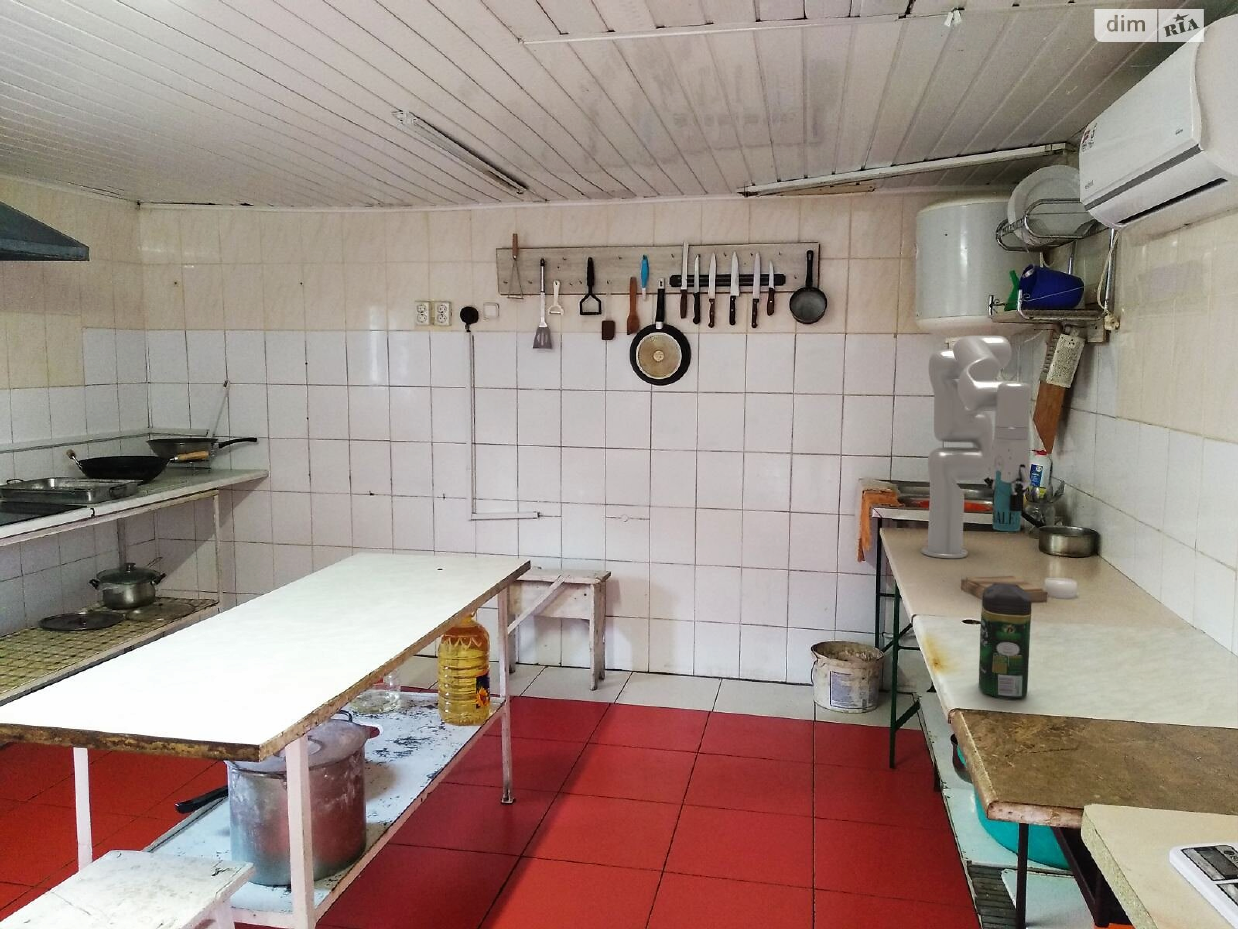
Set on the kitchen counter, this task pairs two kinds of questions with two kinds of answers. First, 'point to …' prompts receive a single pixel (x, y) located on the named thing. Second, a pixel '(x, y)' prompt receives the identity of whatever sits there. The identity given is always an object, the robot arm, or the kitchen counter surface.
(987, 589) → the coffee jar
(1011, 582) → the riser
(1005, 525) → the beverage bottle
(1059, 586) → the white soap bar
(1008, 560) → the kitchen counter surface
